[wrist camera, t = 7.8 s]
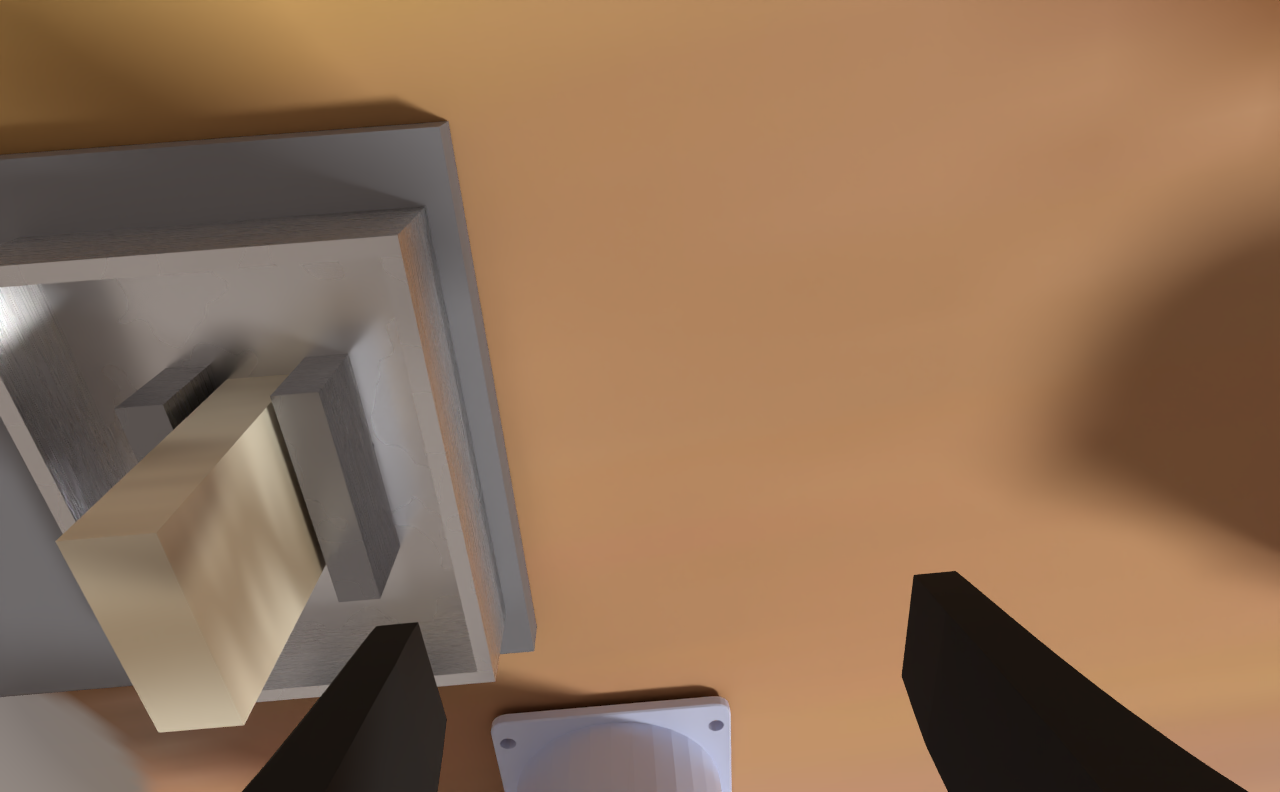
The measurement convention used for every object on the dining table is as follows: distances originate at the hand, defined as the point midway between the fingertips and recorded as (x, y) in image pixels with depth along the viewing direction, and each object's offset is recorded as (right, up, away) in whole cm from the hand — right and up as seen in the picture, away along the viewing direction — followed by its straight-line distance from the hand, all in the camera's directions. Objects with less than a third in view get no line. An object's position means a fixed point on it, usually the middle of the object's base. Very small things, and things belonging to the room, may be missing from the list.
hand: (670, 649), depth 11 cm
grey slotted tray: (-9, +2, +8) cm, 12 cm away
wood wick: (-9, +2, +7) cm, 12 cm away
